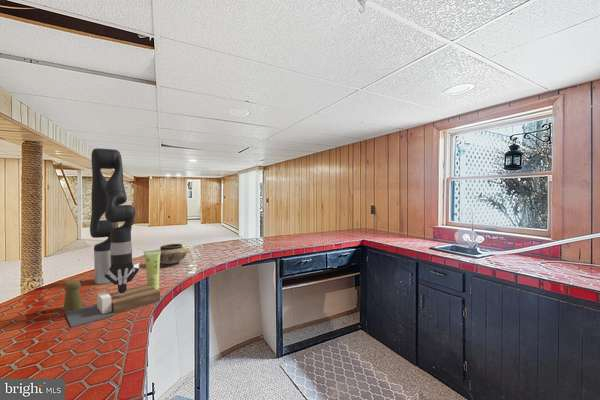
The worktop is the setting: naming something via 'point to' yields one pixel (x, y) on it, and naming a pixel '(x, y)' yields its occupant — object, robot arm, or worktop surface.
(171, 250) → the ceramic bowl
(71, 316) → the charcoal mat
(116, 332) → the worktop surface
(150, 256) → the tube
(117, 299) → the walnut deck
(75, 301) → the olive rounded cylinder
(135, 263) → the lidded jar
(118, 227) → the robot arm
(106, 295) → the ivory card box
